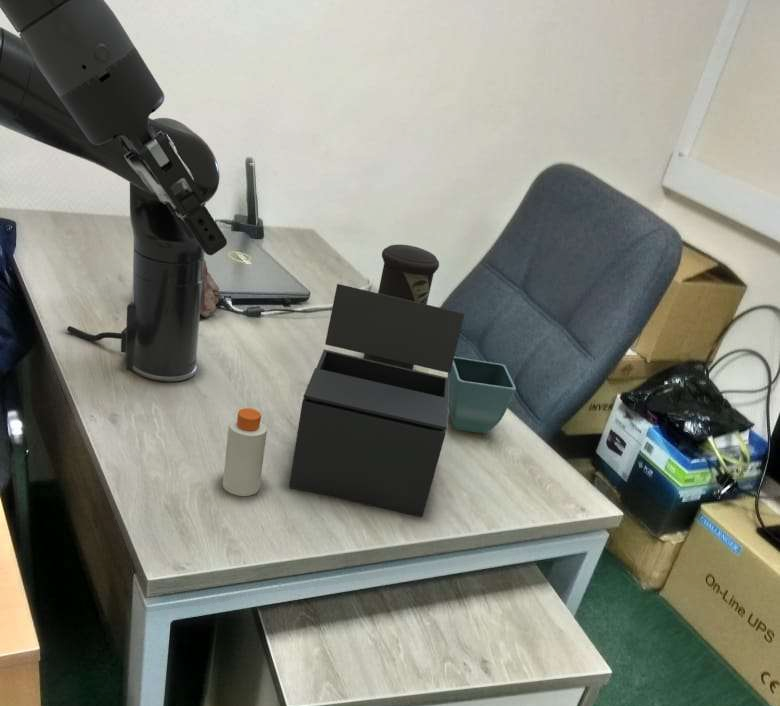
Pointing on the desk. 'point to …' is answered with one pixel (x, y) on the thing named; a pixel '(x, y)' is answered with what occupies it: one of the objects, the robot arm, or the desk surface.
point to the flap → (394, 328)
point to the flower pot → (478, 394)
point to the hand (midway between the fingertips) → (208, 241)
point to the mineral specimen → (208, 293)
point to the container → (406, 280)
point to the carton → (370, 433)
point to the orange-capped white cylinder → (244, 453)
